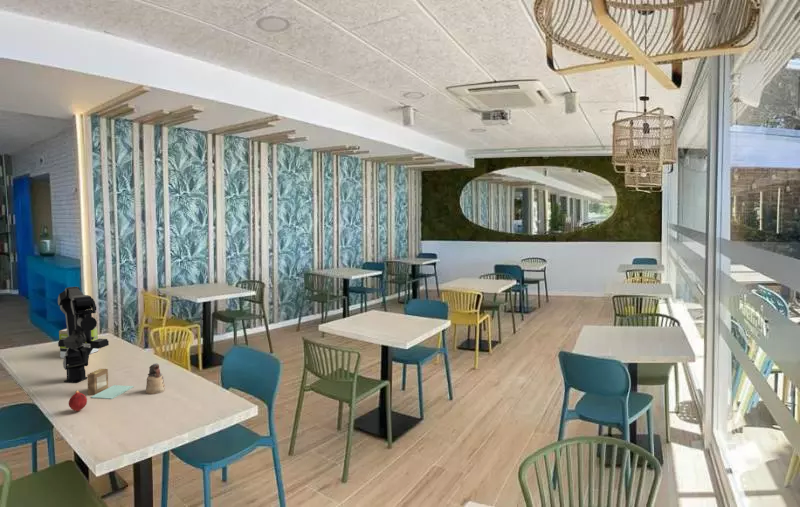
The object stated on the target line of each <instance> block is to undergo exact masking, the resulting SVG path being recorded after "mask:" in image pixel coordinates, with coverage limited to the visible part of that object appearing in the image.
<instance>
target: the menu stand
mask: <svg viewBox="0 0 800 507" xmlns="http://www.w3.org/2000/svg"><path fill="white" fill-rule="evenodd" d="M108 370H109V369H108V368H98V369H97V370H96V369H95V370H94V371H91V372H89V373H87V376H86V377H87V395H88V396H94V395H95V394H97V393H99V392H101V391H103V390H105V389H107V388H109V372H108Z"/></svg>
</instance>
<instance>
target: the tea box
mask: <svg viewBox="0 0 800 507" xmlns="http://www.w3.org/2000/svg"><path fill="white" fill-rule="evenodd" d="M98 335H99V333H98V324H97V325H96V327H95V328H94V329H93V330H91V337H94V339H93V340H91V341H94V340H97V339H99V336H98ZM66 337H68V334H67V328H63V329H61V330H59V331H58V338H59V340H60V339H63V338H66ZM59 340H58V341H59ZM67 349H68V348H66V347H59V355H60V356H59V357H60V358H61V359H64V356H65V353H66V351H67ZM99 349H100V348H99ZM99 349H95V348H93V349H92V351H91V353H90V355H92V354H93V353H96V352H99Z"/></svg>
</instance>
